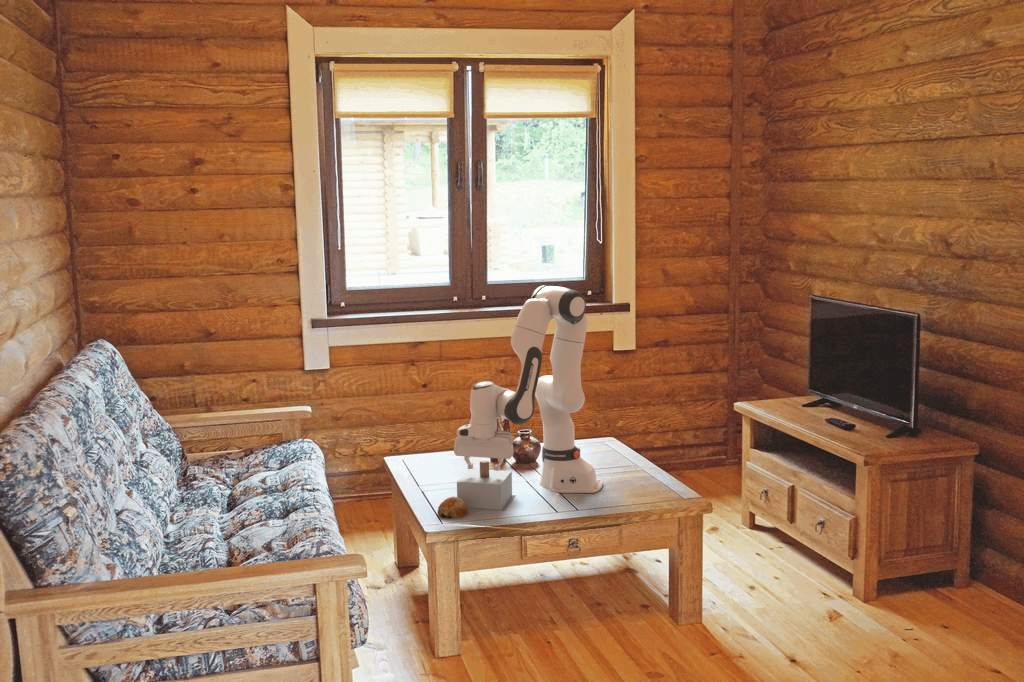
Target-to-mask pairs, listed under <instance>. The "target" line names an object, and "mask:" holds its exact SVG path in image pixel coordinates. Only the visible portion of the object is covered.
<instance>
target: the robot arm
mask: <svg viewBox="0 0 1024 682" xmlns="http://www.w3.org/2000/svg"><path fill="white" fill-rule="evenodd" d="M586 309H587V302H586V298H585V295H583V293H582V292H580V291H577V290H576V289H571V288H568V287H565V286H564V287H563V286H556V285H555V286H554V285H549V284H544V285H540V286H538V287H537V288H536V289H534V290H533V292H532V294H531V297H530V298H529V299H527V300H526V301H525V302H524V303H523V306H522V307H521V309H520V311H519V313H518V315H517V319H516V321H515V323H514V326H513V329H512V332H511V335H510V346H511V348H512V350H513V351H514V353H515V354H516V355H517V356H518V359H519V360H520V364H521V369H520V374H519V379H518V382H517V387H516V391H514V390H512V389H509V388H506V387H505V388H504V387H502V386H499V385H497V384H495V383H494V382H493V381H489V380H487V381H486V380H484V381H480V382H477V383H475V384H474V385H473V386H472V387H471V391H470V397H469V398H470V399H469V409H470V410H469V411H470V414H471V415H470V421H469V423H468V424H464V425H461V426H460V427H458V428H457V430H456V437H455V438H454V444H453V454H454V455H455V456H456V457H464V461H465V463H466V465H467V469H468V470H469V469H474V462H471V461H470V458H471V457H472V458H483V459H485V458H487V459H497V462H498V463H497V464H495V465H494V470H495V471H500V470H501V465H502V463H503V461H504V460H510V459H512V457H514V445H513V444H514V440H515V439H514V437H515V436H514V434H512V433H511V432H510V431H509V430H505V431H503V430H497V419H498V418H500V417H501V418H503V419H506V420H508V421H509V422H511V423H512V424H514V425H517V426H518V425H519V426H521V425H524V424H526V423H528V422H529V421H530V420H531V419H532V417H533V415H534V413H535V404H536V403H535V402H536V401H535V398H536V400H537V404H538V408H539V412H540V418H541V420H542V421H541V423H542V431H543V436H542V437H543V439H542V440H543V442H542V443H543V446H542V449H541V459H542V471H541V477H540V480H539V486H540V487H542V488H543V489H547V490H549V491H550V492H555V493H558V494H562V493H563V494H566V493H567V494H570V493H571V494H574V493H575V494H577V493H579V494H584V493H585V494H587V493H588V494H589V493H591V494H592V493H597V492H598V491H600V490H601V489H602V488H603V481H602V480H601V479H600V478H597V473H596V470H595V467H594V466H593V465H592V464H591V463H589V462H587V461H586V460H585V459H584V458H582V457H581V447H577V446H576V445H575V424H574V421H573V420H572V418H571V414H573V413H576V412H579V411H580V410H581V409H582V408H583V406H584V404H585V402H586V397H585V393H584V391H583V387H582V375H581V373H582V372H581V365H582V359H583V352H584V348H585V343H586V338H587V337H586V335H587V324H588V323H587V315H586ZM553 319H555V321H556V327H555V329H554V335H553V340H552V343H551V344H552V345H551V350H550V355H549V361H550V364H551V369H552V371H551V372H552V374H546V375H541V376H540V372H541V369H542V368H541V367H542V363H543V354H542V353H543V346H544V341H545V337H546V334H547V331H548V327H549V323H550V322H551V320H553Z"/></svg>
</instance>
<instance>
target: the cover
mask: <svg viewBox="0 0 1024 682" xmlns="http://www.w3.org/2000/svg"><path fill="white" fill-rule="evenodd" d="M512 495H513V472H512V470H502V469H500V471H495V469H490V461H488V460H481V461H479V468H473V469H468V470H466V471H465V472H464V473H463V475H462V476H460V478H459V479H458V480H457V481H456V497H458V498H460V499H462V500H463V501H464V502H465V503H466V504H467V506H468V509H471V508H479V509H478V510H486V509H494V510H493V511H501V510H502V508H503V507H504V506H505V504H506V503H507V502H508V500H509V499H510V498H511V496H512Z"/></svg>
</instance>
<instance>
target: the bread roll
mask: <svg viewBox="0 0 1024 682" xmlns="http://www.w3.org/2000/svg"><path fill="white" fill-rule="evenodd" d="M437 515H438V517H439V518H441V519H449V520H450V519H461V518H465V517H466V516H468V515H469V508H468V506H467V504H466V503H465V502H464V501H463V500H462V499H460V498H458V497H457V496H450V497H447V498H446V499H444V500H443V501H442V502H441V503H440V504H439V506H438V508H437Z"/></svg>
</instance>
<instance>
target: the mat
mask: <svg viewBox="0 0 1024 682" xmlns="http://www.w3.org/2000/svg"><path fill="white" fill-rule="evenodd" d="M516 497H517V495H516V494H512V496H511V498H510V499H509V500H508V502H507V503H506V504H505V506H504V507H503V508H502V510H500V511H503V512H505V511H507V509H508V508H509V507H510V505H511V503H512V502H513V500H514V499H515V498H516ZM470 509H471V510H472V509H473V510H474V509H475V510H480V509H479V508H470ZM485 510H489V511H495V510H494V509H485Z"/></svg>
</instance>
